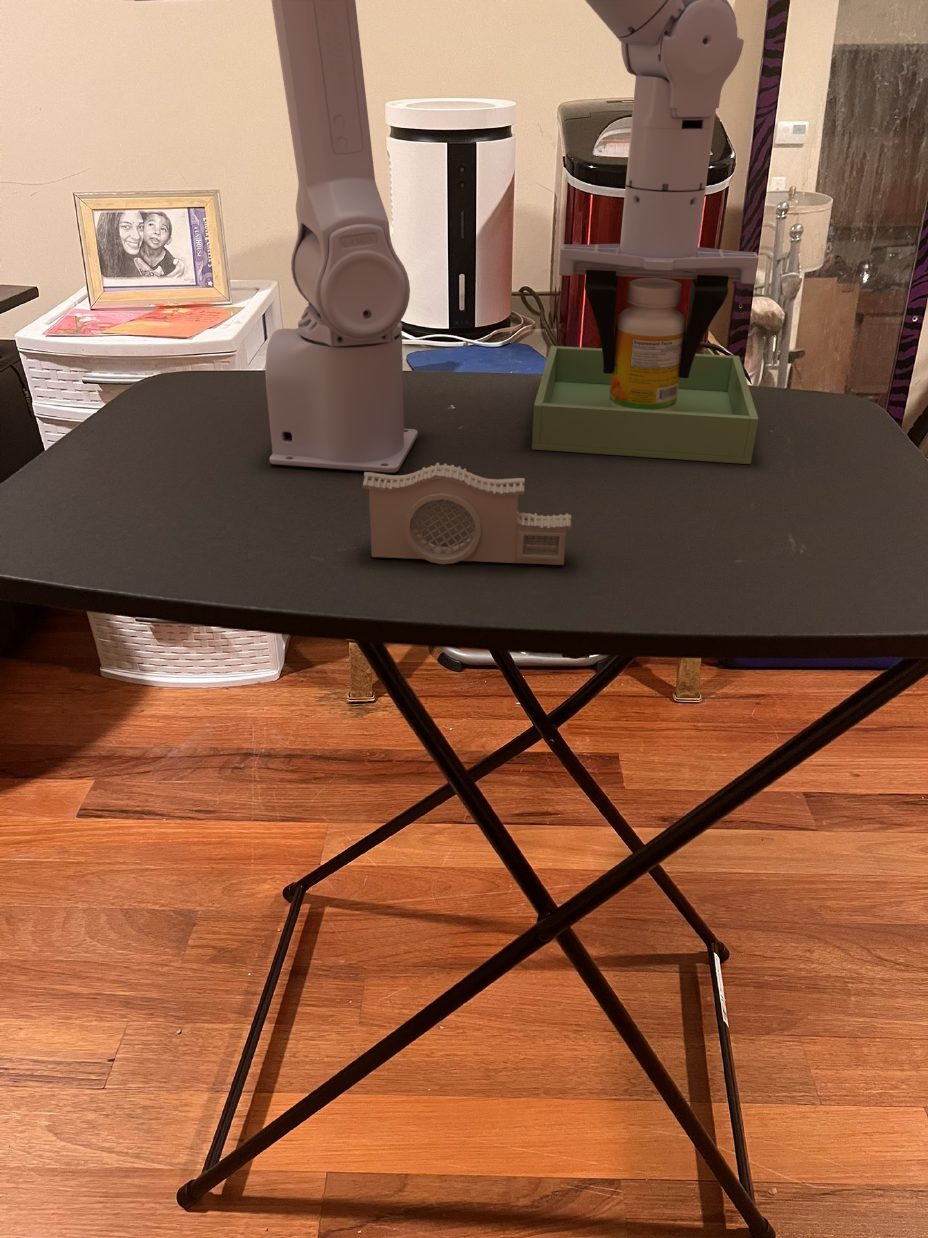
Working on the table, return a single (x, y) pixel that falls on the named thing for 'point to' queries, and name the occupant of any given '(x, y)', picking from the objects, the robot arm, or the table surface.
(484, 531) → the garden wall model
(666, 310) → the supplement bottle
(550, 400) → the basket
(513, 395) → the table surface
